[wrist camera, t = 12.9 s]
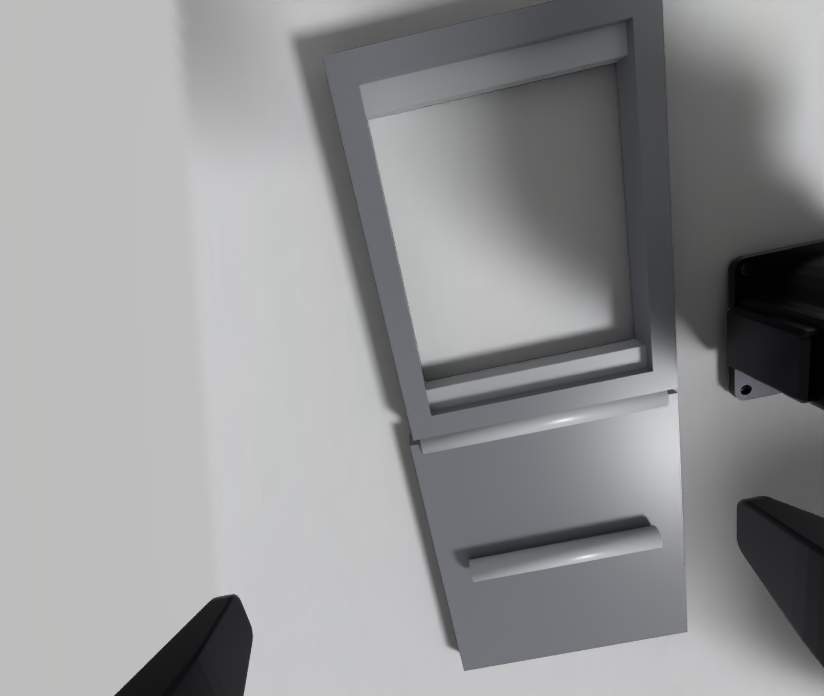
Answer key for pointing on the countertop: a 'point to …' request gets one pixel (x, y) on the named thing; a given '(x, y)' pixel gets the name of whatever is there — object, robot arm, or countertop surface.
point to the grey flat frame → (541, 362)
